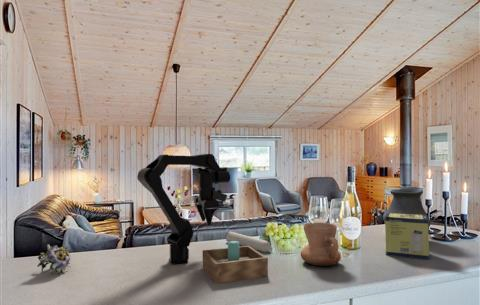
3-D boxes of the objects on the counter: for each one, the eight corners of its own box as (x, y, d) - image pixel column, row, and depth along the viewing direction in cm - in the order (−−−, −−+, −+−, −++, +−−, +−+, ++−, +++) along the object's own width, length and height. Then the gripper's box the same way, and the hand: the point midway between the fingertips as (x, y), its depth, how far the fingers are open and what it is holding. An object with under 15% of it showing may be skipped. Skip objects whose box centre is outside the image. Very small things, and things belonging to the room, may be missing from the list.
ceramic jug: (292, 259, 131) (291, 222, 131) (324, 255, 136) (324, 219, 136) (317, 273, 114) (317, 231, 114) (353, 268, 119) (352, 228, 119)
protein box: (386, 249, 145) (385, 212, 145) (428, 253, 138) (427, 214, 138) (385, 255, 135) (384, 216, 135) (429, 260, 128) (429, 219, 129)
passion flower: (63, 288, 116) (59, 266, 110) (30, 284, 116) (25, 261, 109) (77, 262, 126) (75, 240, 119) (47, 257, 125) (43, 235, 119)
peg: (230, 273, 114) (229, 244, 115) (226, 270, 118) (226, 241, 118) (241, 272, 116) (240, 243, 116) (237, 268, 120) (237, 240, 120)
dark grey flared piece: (375, 240, 160) (374, 187, 160) (394, 233, 175) (394, 184, 175) (422, 248, 145) (420, 190, 145) (438, 239, 160) (437, 187, 160)
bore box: (215, 283, 106) (215, 264, 106) (202, 267, 122) (202, 250, 122) (267, 276, 112) (267, 257, 112) (249, 261, 128) (248, 245, 128)
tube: (274, 242, 142) (235, 232, 161) (265, 240, 139) (227, 230, 158) (271, 255, 141) (232, 243, 160) (262, 253, 138) (224, 241, 157)
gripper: (232, 185, 131) (232, 225, 131) (218, 182, 149) (218, 218, 148) (204, 186, 127) (204, 228, 127) (193, 183, 145) (193, 219, 145)
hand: (206, 223), depth 137 cm, fingers open, 9 cm apart
